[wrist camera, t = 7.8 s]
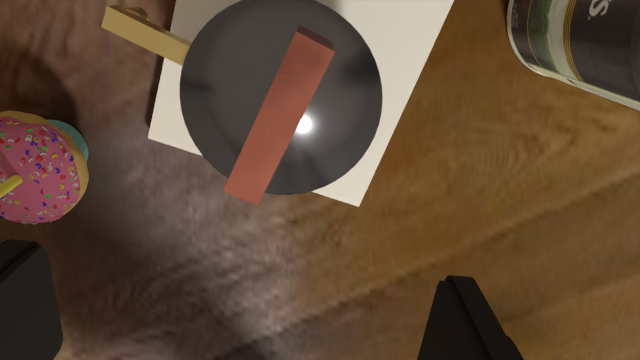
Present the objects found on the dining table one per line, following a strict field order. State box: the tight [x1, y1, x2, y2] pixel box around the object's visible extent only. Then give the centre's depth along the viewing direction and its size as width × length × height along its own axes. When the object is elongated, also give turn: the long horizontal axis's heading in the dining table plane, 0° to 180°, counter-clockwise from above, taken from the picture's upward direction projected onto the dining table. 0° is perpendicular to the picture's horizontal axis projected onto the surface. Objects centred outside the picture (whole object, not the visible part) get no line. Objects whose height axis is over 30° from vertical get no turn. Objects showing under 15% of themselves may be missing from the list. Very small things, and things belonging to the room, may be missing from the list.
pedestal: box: [148, 0, 454, 207], centre depth 28 cm, size 22×18×6 cm
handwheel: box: [102, 0, 383, 206], centre depth 24 cm, size 17×12×9 cm
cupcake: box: [0, 111, 89, 224], centre depth 29 cm, size 9×8×12 cm
